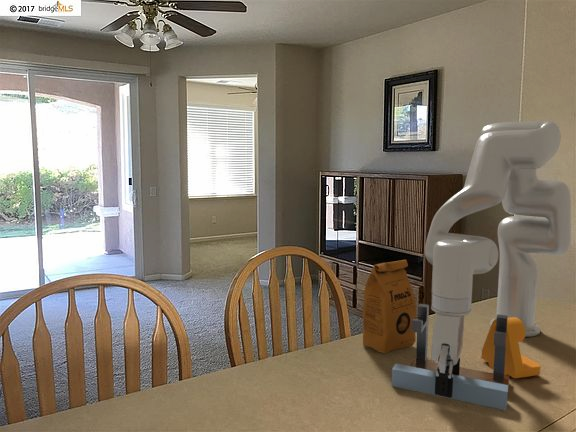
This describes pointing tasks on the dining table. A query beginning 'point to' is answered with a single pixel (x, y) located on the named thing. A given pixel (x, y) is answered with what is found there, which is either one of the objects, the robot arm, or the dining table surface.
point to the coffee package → (388, 308)
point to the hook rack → (497, 376)
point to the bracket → (511, 350)
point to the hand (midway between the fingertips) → (447, 385)
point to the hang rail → (462, 386)
